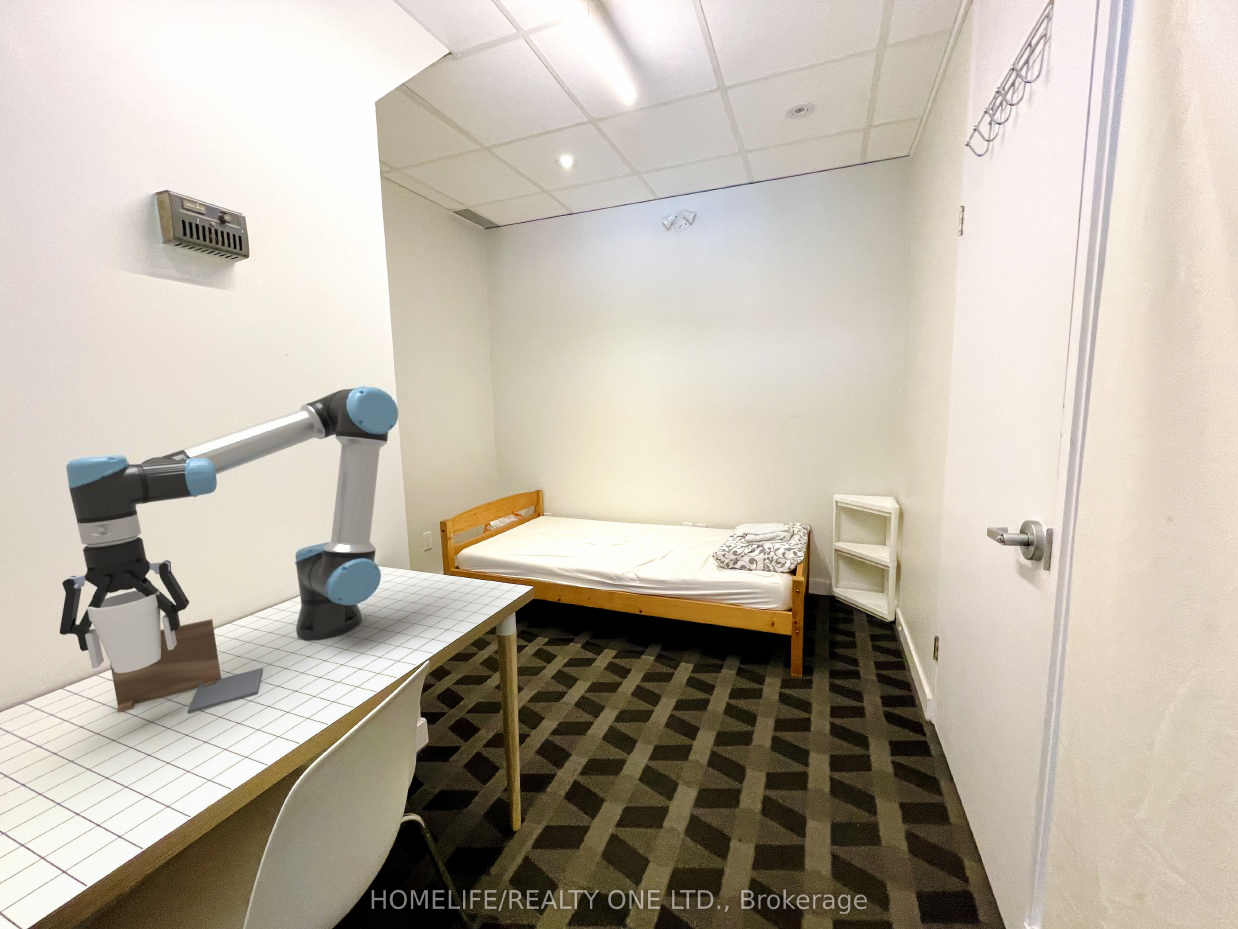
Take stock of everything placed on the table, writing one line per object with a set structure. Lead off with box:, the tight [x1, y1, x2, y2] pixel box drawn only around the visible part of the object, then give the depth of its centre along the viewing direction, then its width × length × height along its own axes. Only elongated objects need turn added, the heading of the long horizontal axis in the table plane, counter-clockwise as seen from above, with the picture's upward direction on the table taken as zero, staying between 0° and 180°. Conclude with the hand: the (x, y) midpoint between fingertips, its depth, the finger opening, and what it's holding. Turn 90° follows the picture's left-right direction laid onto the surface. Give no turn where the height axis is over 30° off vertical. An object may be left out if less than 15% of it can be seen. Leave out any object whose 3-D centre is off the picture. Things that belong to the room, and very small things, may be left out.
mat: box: [186, 667, 264, 714], centre depth 100 cm, size 11×11×1 cm
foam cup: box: [86, 588, 162, 673], centre depth 89 cm, size 10×9×13 cm
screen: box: [109, 618, 222, 714], centre depth 99 cm, size 5×16×14 cm, turn 122°
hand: (136, 655), depth 89 cm, fingers closed on foam cup, 9 cm apart
